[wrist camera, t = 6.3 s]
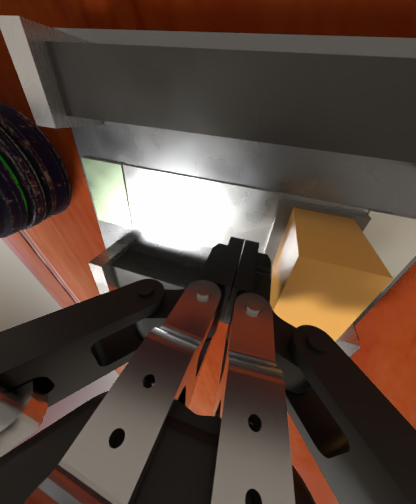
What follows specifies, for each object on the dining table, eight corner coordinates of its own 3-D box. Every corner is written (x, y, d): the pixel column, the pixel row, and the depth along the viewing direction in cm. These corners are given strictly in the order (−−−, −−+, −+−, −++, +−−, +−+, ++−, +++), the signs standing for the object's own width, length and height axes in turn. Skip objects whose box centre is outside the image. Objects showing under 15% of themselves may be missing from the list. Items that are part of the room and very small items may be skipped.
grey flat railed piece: (549, 58, 7) (872, -7, 3) (335, 320, 18) (351, 382, 14) (74, 38, 12) (-37, -1, 8) (124, 259, 22) (88, 292, 18)
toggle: (367, 213, 10) (422, 279, 6) (328, 274, 13) (349, 348, 9) (281, 197, 11) (280, 246, 7) (261, 257, 14) (253, 318, 10)
